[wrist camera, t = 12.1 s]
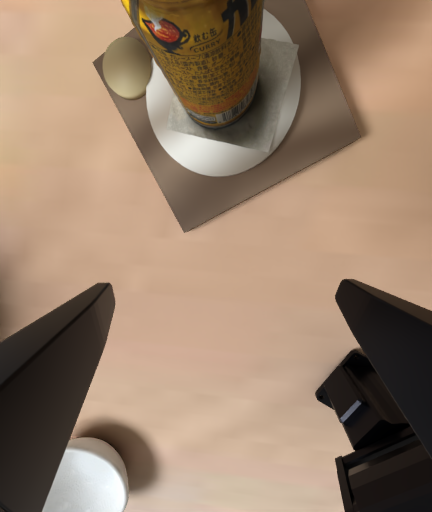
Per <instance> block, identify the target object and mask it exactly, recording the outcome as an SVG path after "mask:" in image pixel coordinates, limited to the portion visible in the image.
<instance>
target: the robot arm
mask: <svg viewBox="0 0 432 512" xmlns="http://www.w3.org/2000/svg"><path fill="white" fill-rule="evenodd" d="M335 299H336V302H337V304H338V306H339V308H340V310H341V312H342V314H343V316H344V318H345V320H346V322H347V324H348V326H349V328H350V330H351V331H352V333H353V335H354V337H355V338H356V340H357V342H358V343H359V345H360V346H361V348H362V349H363V351H364V353H365V354H366V355H364V354H362V353H360V352H359V351H356V350H353V351H351V352H350V353H349V354H348V355H347V356H346V357H345V359H344V360H343V361H342V362H341V363H340V364H339V365H338V366H337V368H336V369H335V370H334V371H333V372H332V373H331V375H330V376H329V377H328V378H327V379H326V380H325V382H324V383H323V384H322V385H321V386H320V388H319V389H318V390H317V391H316V393H315V395H316V398H317V400H318V401H320V402H322V403H323V404H325V405H327V406H328V407H330V408H332V409H333V410H335V412H336V415H337V417H338V419H339V421H340V423H342V425H343V427H344V429H345V432H346V434H347V436H348V438H349V440H350V443H351V445H352V447H353V449H354V450H355V451H354V452H352V453H350V454H348V455H346V456H343V457H342V456H339V457H337V458H335V462H336V467H337V475H338V480H339V485H340V490H341V495H342V500H343V505H344V510H345V512H432V311H430V310H428V309H425V308H423V307H420V306H418V305H416V304H413V303H411V302H408V301H406V300H403V299H401V298H398V297H396V296H394V295H391V294H389V293H386V292H384V291H381V290H379V289H376V288H374V287H372V286H369V285H367V284H364V283H362V282H359V281H357V280H354V279H344V280H342V281H341V282H340V285H339V287H338V290H337V292H336V295H335ZM114 309H115V298H114V293H113V288H112V285H111V284H110V283H97V284H95V285H94V286H92V287H90V288H89V289H87V290H86V291H84V292H82V293H81V294H79V295H77V296H76V297H74V298H72V299H71V300H69V301H67V302H66V303H64V304H62V305H61V306H59V307H58V308H56V309H54V310H53V311H51V312H49V313H48V314H46V315H44V316H43V317H41V318H39V319H38V320H36V321H34V322H33V323H31V324H30V325H28V326H26V327H25V328H23V329H21V330H20V331H18V332H16V333H15V334H13V335H11V336H10V337H8V338H6V339H5V340H3V341H2V342H0V512H42V510H43V508H44V505H45V502H46V500H47V497H48V495H49V492H50V489H51V487H52V484H53V481H54V479H55V476H56V474H57V471H58V468H59V466H60V463H61V460H62V458H63V455H64V453H65V450H66V447H67V445H68V442H69V439H70V437H71V434H72V432H73V429H74V426H75V424H76V421H77V418H78V416H79V413H80V411H81V408H82V405H83V403H84V400H85V397H86V395H87V392H88V390H89V387H90V384H91V382H92V379H93V376H94V374H95V371H96V369H97V366H98V363H99V361H100V358H101V355H102V353H103V350H104V347H105V344H106V340H107V336H108V332H109V328H110V324H111V321H112V317H113V313H114ZM355 355H357V356H356V357H354V356H355ZM320 395H322V396H320Z"/></svg>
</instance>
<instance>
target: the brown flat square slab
mask: <svg viewBox="0 0 432 512" xmlns="http://www.w3.org/2000/svg"><path fill="white" fill-rule="evenodd" d="M261 38H265V39H274V40H276V41H281V42H289V43H292V44H297V45H299V47H298V51H297V54H296V58H295V61H294V64H293V68H292V72H291V75H290V79H289V82H288V86H287V89H286V93H285V96H284V100H283V103H282V107H281V110H280V114H279V118H278V121H277V125H276V128H275V132H274V135H273V139H272V142H271V146H270V149H269V153H268V152H264V151H259V150H256V149H250V148H245V147H241V146H237V145H232V144H229V143H225V142H219V141H215V140H210V139H206V138H201V137H197V136H193V135H188V134H184V133H180V132H176V131H172V130H168V129H167V123H168V117H169V112H170V107H171V102H172V98H173V90H172V88H171V86H170V85H169V83H168V81H167V79H166V78H165V76H164V75H163V73H162V71H161V69H160V68H159V67H158V66H157V64H156V63H155V61H154V58H153V56H152V55H151V53H150V51H149V49H148V47H147V45H146V44H145V43H144V41H143V40H142V39H141V38H140V36H139V34H138V32H137V31H136V29H135V28H133V29H132V30H131V31H130V32H129V33H127V34H126V35H125V36H124V37H121V38H118V39H116V40H115V41H113V42H112V43H111V44H110V45H109V47H108V48H107V50H106V52H104V53H103V54H102V55H101V56H100V57H98V58H97V59H96V60H95V61H94V62H93V64H94V66H95V68H96V70H97V72H98V74H99V75H100V77H101V79H102V81H103V83H104V85H105V87H106V88H107V90H108V92H109V94H110V96H111V98H112V100H113V101H114V103H115V105H116V107H117V109H118V111H119V113H120V114H121V116H122V118H123V120H124V122H125V124H126V126H127V127H128V129H129V131H130V133H131V135H132V137H133V139H134V140H135V142H136V144H137V146H138V148H139V150H140V152H141V153H142V155H143V157H144V159H145V161H146V163H147V165H148V166H149V168H150V170H151V172H152V174H153V176H154V178H155V180H156V181H157V183H158V185H159V187H160V189H161V191H162V193H163V194H164V196H165V198H166V200H167V202H168V204H169V206H170V207H171V209H172V211H173V213H174V215H175V217H176V219H177V220H178V222H179V224H180V226H181V228H182V230H183V232H184V233H185V232H188V231H189V230H191V229H193V228H195V227H197V226H199V225H200V224H202V223H204V222H206V221H208V220H210V219H212V218H213V217H215V216H217V215H219V214H221V213H223V212H225V211H226V210H228V209H230V208H232V207H234V206H236V205H238V204H239V203H241V202H243V201H245V200H247V199H249V198H250V197H252V196H254V195H256V194H258V193H260V192H262V191H263V190H265V189H267V188H269V187H271V186H273V185H275V184H276V183H278V182H280V181H282V180H284V179H286V178H288V177H289V176H291V175H293V174H295V173H297V172H299V171H300V170H302V169H304V168H306V167H308V166H310V165H312V164H313V163H315V162H317V161H319V160H321V159H323V158H325V157H326V156H328V155H330V154H332V153H334V152H336V151H338V150H339V149H341V148H343V147H345V146H347V145H349V144H351V143H352V142H354V141H356V140H357V139H359V138H360V137H361V136H360V133H359V131H358V128H357V126H356V123H355V121H354V119H353V116H352V114H351V111H350V109H349V106H348V104H347V101H346V99H345V97H344V94H343V92H342V89H341V87H340V84H339V82H338V80H337V77H336V75H335V72H334V70H333V67H332V65H331V62H330V60H329V58H328V55H327V53H326V50H325V48H324V45H323V43H322V41H321V38H320V36H319V33H318V31H317V28H316V26H315V23H314V21H313V19H312V16H311V14H310V11H309V9H308V6H307V4H306V2H305V0H265V2H264V10H263V22H262V34H261Z"/></svg>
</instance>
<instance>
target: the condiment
mask: <svg viewBox="0 0 432 512" xmlns="http://www.w3.org/2000/svg"><path fill="white" fill-rule="evenodd" d="M121 2H122V4H123V6H124V8H125V10H126V12H127V13H128V15H129V17H130V19H131V22H132V24H133V26H134V27H135V29H136V31H137V32H138V34H139V36H140V38H141V39H142V40H143V41H144V43H145V44H146V45H147V47H148V49H149V51H150V53H151V55H152V56H153V58H154V61H155V63H156V64H157V66H158V67H159V68H160V69H161V71H162V73H163V75H164V76H165V78H166V79H167V81H168V83H169V85H170V86H171V88H172V90H173V98H172V102H171V107H170V112H169V117H168V123H167V129H168V130H172V131H176V132H180V133H184V134H188V135H193V136H197V137H201V138H206V139H210V140H215V141H219V142H225V143H229V144H232V145H237V146H241V147H245V148H250V149H256V150H259V151H264V152H268V153H269V149H270V146H271V142H272V139H273V135H274V132H275V128H276V125H277V121H278V118H279V114H280V110H281V107H282V103H283V100H284V96H285V93H286V89H287V86H288V82H289V79H290V75H291V72H292V68H293V64H294V61H295V58H296V54H297V51H298V47H299V45H297V44H292V43H289V42H281V41H276V40H274V39H265V38H261V34H262V22H263V10H264V2H265V0H121Z"/></svg>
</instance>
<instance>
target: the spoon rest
mask: <svg viewBox="0 0 432 512" xmlns="http://www.w3.org/2000/svg"><path fill="white" fill-rule="evenodd" d="M128 498H129V485H128V476H127V472H126V468H125V465H124V462H123V460H122V458H121V457H120V455H119V454H118V453H117V451H116V450H115V449H114V448H113V447H112V446H111V445H109V444H108V443H106V442H105V441H102V440H100V439H96V438H88V437H83V438H76V439H72V440H69V442H68V445H67V447H66V450H65V453H64V455H63V458H62V460H61V463H60V466H59V468H58V471H57V474H56V476H55V479H54V481H53V484H52V487H51V489H50V492H49V495H48V497H47V500H46V502H45V505H44V508H43V510H42V512H123V511H124V510H125V508H126V505H127V502H128Z"/></svg>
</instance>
